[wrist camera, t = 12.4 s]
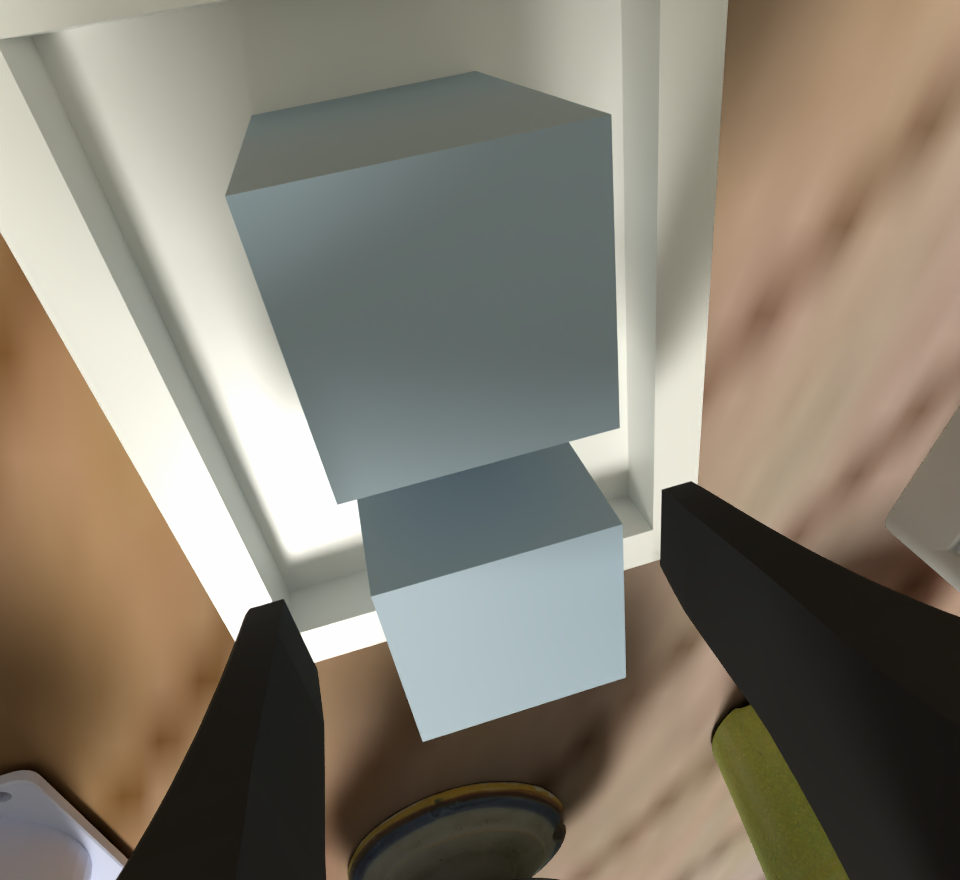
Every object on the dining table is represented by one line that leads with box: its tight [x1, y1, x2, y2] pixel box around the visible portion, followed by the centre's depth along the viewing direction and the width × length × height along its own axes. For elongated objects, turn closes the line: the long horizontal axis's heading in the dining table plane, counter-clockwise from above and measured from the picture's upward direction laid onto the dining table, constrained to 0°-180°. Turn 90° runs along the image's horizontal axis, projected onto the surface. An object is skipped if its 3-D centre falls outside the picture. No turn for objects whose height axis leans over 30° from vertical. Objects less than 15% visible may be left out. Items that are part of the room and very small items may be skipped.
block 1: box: [225, 71, 620, 505], centre depth 10 cm, size 4×4×6 cm
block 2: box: [357, 442, 626, 742], centre depth 13 cm, size 4×4×6 cm
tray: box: [0, 0, 728, 663], centre depth 14 cm, size 12×15×2 cm
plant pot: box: [712, 705, 849, 880], centre depth 26 cm, size 9×9×9 cm
